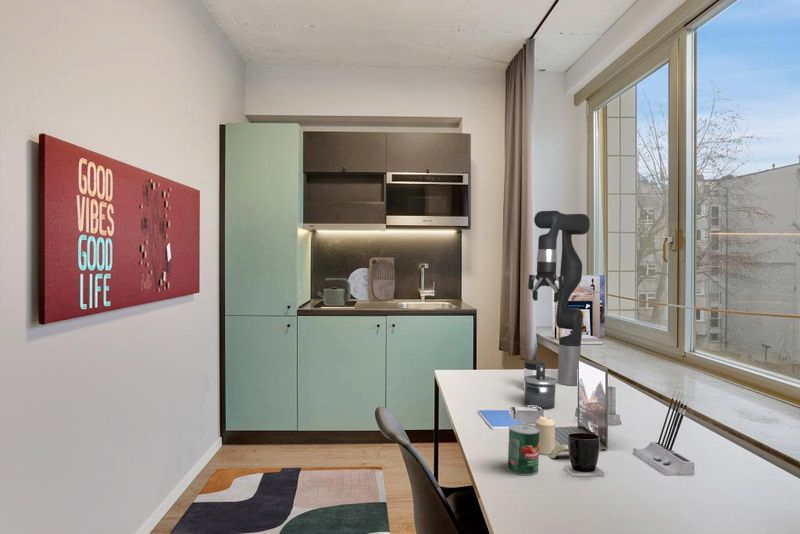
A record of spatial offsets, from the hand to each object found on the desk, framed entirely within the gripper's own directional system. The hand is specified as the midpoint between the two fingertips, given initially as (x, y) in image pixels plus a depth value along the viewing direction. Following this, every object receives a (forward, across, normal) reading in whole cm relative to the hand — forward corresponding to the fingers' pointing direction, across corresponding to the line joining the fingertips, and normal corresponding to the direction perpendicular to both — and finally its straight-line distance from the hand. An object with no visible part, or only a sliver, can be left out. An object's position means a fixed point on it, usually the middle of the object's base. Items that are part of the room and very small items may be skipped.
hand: (545, 301), depth 215 cm
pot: (+38, -5, +14) cm, 41 cm away
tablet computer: (+39, -3, +40) cm, 56 cm away
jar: (+38, +6, -5) cm, 39 cm away
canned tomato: (+38, -27, +74) cm, 88 cm away
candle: (+38, -26, +58) cm, 74 cm away
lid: (+29, -5, +14) cm, 33 cm away
